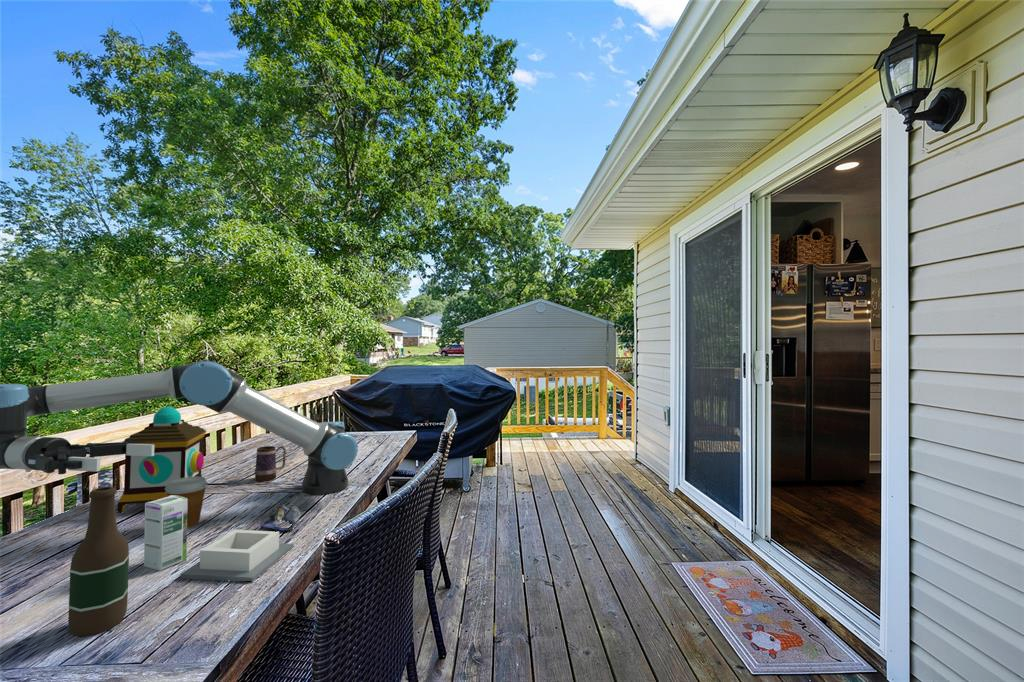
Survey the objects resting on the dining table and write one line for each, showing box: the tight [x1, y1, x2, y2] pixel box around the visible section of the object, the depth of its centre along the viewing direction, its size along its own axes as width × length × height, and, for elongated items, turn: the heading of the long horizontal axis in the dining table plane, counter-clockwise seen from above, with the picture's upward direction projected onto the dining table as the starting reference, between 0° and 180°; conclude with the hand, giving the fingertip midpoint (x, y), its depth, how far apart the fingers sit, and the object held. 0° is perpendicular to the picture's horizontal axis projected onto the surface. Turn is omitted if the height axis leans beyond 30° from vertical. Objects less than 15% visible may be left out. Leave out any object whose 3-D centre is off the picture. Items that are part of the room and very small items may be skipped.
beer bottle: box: [67, 486, 130, 638], centre depth 80 cm, size 8×8×24 cm
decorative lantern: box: [116, 405, 207, 514], centre depth 141 cm, size 20×20×30 cm
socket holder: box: [179, 529, 295, 582], centre depth 103 cm, size 16×16×5 cm
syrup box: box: [143, 495, 188, 572], centre depth 102 cm, size 6×6×14 cm
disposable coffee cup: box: [165, 476, 208, 529], centre depth 124 cm, size 10×10×12 cm
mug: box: [254, 444, 287, 483], centre depth 167 cm, size 10×7×12 cm
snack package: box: [260, 502, 301, 533], centre depth 125 cm, size 12×6×12 cm
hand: (127, 457), depth 103 cm, fingers open, 13 cm apart
